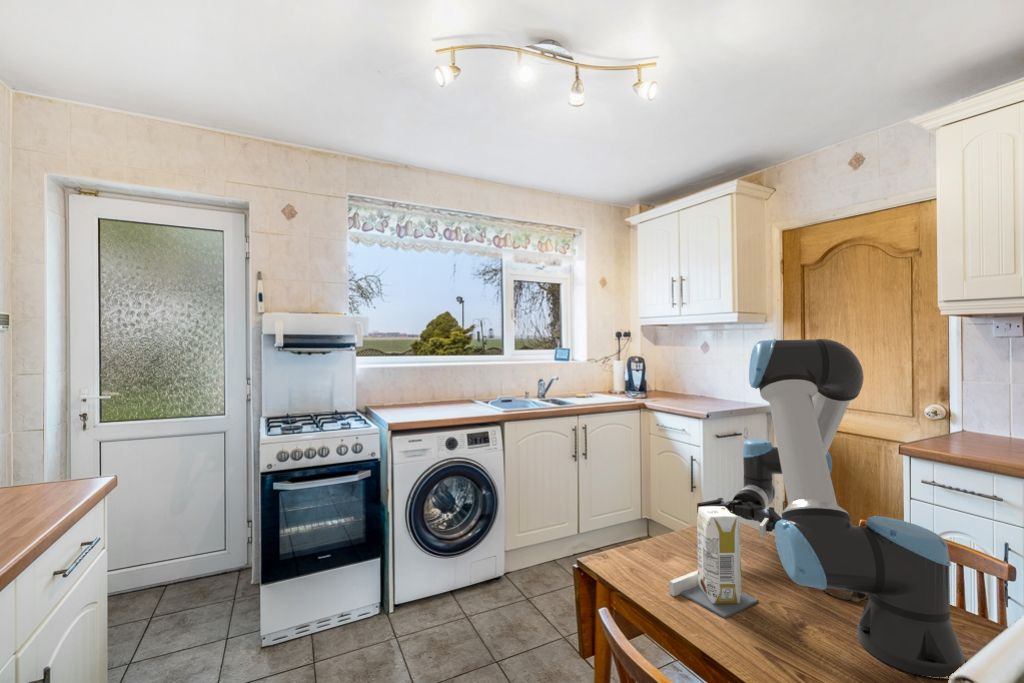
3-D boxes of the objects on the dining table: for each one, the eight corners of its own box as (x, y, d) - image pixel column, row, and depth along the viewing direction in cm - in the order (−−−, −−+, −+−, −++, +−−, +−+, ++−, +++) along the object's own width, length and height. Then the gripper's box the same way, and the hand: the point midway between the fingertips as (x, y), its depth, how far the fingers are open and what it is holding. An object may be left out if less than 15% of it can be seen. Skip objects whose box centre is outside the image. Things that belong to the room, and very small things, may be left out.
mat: (758, 601, 104) (758, 599, 104) (724, 618, 98) (724, 616, 98) (714, 581, 114) (714, 578, 114) (681, 594, 108) (681, 592, 108)
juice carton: (710, 606, 102) (709, 518, 102) (694, 586, 110) (693, 505, 111) (745, 606, 102) (744, 517, 102) (727, 585, 110) (725, 504, 111)
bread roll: (837, 617, 105) (850, 592, 101) (801, 577, 114) (813, 553, 111) (872, 610, 107) (886, 586, 104) (834, 572, 116) (847, 548, 113)
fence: (718, 578, 115) (717, 565, 115) (673, 596, 107) (673, 583, 107) (713, 576, 116) (713, 563, 116) (669, 594, 108) (669, 581, 108)
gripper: (803, 526, 122) (789, 554, 106) (703, 507, 138) (678, 528, 121) (802, 497, 122) (788, 521, 106) (703, 481, 138) (678, 499, 122)
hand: (729, 525), depth 114 cm, fingers open, 13 cm apart
